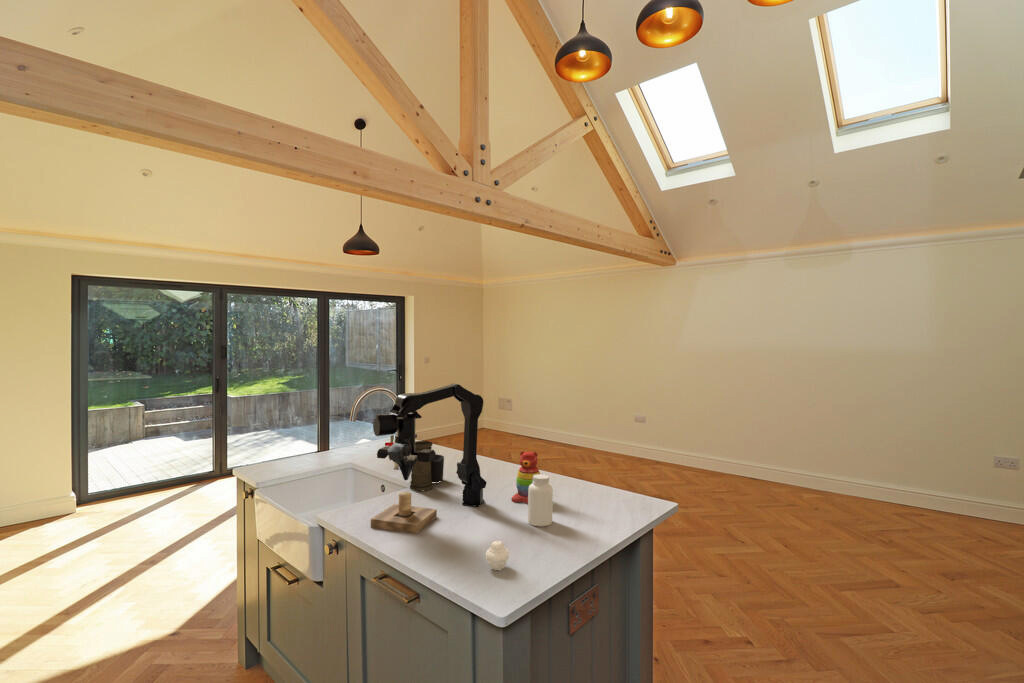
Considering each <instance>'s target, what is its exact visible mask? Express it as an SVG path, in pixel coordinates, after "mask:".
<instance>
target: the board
mask: <svg viewBox="0 0 1024 683" xmlns="http://www.w3.org/2000/svg"><path fill="white" fill-rule="evenodd" d="M398 508H399V504H396V503H393V504H392V505H390V506H388V507H387V508H385V509H384V510H383V511H380V512H379V513H377V514H376V515H374V516H372V517H371V518H370V527H371V528H376V529H382V528H383V529H384V530H389V531H391V530H392V531H397V532H405V533H412V534H418V533H419V532H420V531H421V530H423V529H424V528H425V527H427V525H429V524H430V523H431V522H432V521H433V520H434V519H436V518H437V512H438V511H437V509H436V508H429V507H420V506H413V505H411V516H410V517H409V518H405V517H398Z"/></svg>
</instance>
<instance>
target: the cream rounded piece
mask: <svg viewBox="0 0 1024 683" xmlns="http://www.w3.org/2000/svg"><path fill="white" fill-rule="evenodd" d="M509 556H510V552H509V550H508V548H506V547H505V544H504V542H503V541H501V540H494V541H492V542H491V543H490V547H489V548H488V549H487V550H486V552H485V558H486V561H487V563H488V566H489V567H490V569H491V570H492V569H494V570H493V571H495V570H499V571H502V570H503V569H505V568H504V567H505V566H506V564H507V562H508V560H509ZM501 569H502V570H501Z"/></svg>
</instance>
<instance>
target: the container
mask: <svg viewBox="0 0 1024 683" xmlns="http://www.w3.org/2000/svg"><path fill="white" fill-rule="evenodd" d="M432 446H433V442H432V441H428V440H419V441H418V440H417V441H415V447H417V450H415V451H416V452H420V451H422V450H424V449H430V450H432V449H433V447H432ZM431 475H432V474H431V461H429V462H420V461H416V463H415V465H414V466H413V469H412V471H411V473H410V482H409V483H410V485H409V488H411V489H414V490H427V491H429V490H428V489H430V490H431V488H432V489H433V484H432V480H431ZM411 489H410V490H411Z"/></svg>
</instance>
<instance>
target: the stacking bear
mask: <svg viewBox="0 0 1024 683" xmlns="http://www.w3.org/2000/svg"><path fill="white" fill-rule="evenodd" d="M538 459H539V458H538V453H537V451H535V452H532V451H526V452H525V451H521V452H520V457H519V464H520V467H519V469H518V471H517V475H516V480H515V481H516V482H515V484H516V485H515V486H516V489H517V492H516V493H515V494H514V495H513V496H512V497H511V499H510V500H511V502H513V503H516V502H525V503H524V504H528V488H529V486H530V485H531V484H532V483H533V482H532V481H533V476H534V475H537V474H541V473H540V470H539V468H538V466H537V465H538V461H539V460H538Z"/></svg>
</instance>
